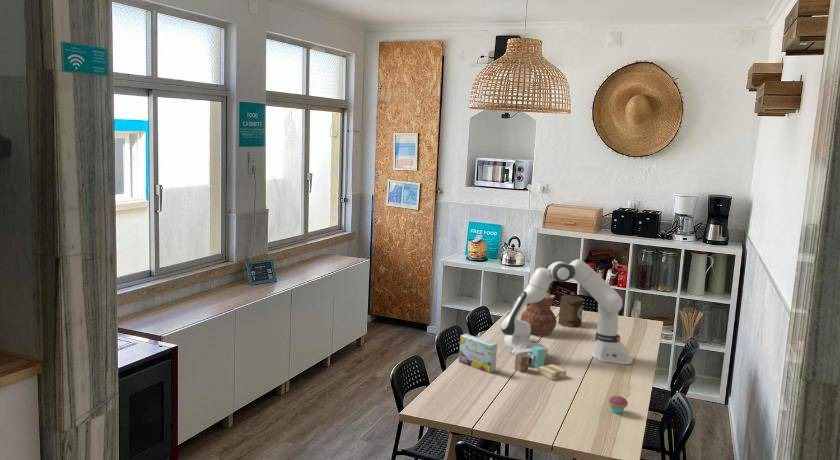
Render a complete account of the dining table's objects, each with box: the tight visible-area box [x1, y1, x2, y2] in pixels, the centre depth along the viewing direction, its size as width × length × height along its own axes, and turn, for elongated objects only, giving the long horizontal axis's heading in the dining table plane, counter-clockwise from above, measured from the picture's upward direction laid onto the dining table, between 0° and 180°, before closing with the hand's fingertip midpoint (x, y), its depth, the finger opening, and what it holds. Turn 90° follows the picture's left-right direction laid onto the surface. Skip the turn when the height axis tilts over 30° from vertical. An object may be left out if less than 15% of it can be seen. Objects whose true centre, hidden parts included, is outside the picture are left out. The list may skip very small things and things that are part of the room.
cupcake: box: [608, 386, 629, 414], centre depth 303 cm, size 9×8×12 cm
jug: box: [520, 292, 557, 336], centre depth 418 cm, size 22×21×25 cm
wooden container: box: [558, 291, 584, 328], centre depth 441 cm, size 15×15×22 cm
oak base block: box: [537, 363, 567, 381], centre depth 345 cm, size 10×10×4 cm
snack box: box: [458, 333, 498, 374], centre depth 351 cm, size 21×6×15 cm, turn 47°
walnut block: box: [514, 354, 530, 373], centre depth 350 cm, size 5×5×8 cm
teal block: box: [530, 346, 546, 369], centre depth 358 cm, size 5×5×10 cm
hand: (539, 356), depth 357 cm, fingers closed on teal block, 5 cm apart
